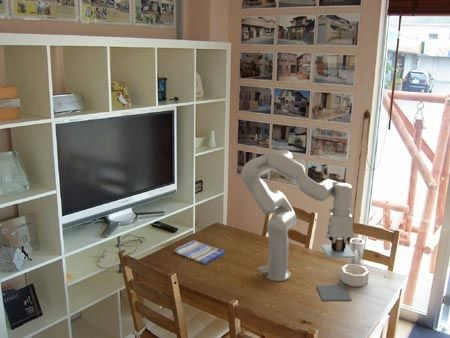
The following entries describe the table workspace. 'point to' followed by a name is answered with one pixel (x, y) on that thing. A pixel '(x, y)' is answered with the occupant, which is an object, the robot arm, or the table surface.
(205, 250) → the dish towel
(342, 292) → the mat
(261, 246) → the table surface
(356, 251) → the beer glass
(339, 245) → the cover
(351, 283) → the bowl
